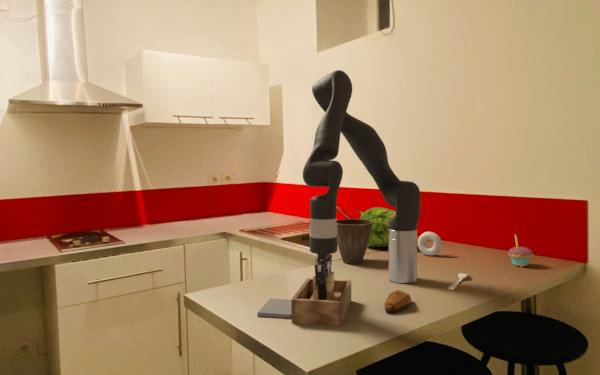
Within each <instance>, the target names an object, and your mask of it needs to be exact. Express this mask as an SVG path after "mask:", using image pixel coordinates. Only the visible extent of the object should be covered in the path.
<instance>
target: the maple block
mask: <svg viewBox="0 0 600 375" xmlns="http://www.w3.org/2000/svg"><path fill="white" fill-rule="evenodd" d="M325 274H326V273H325ZM312 279H313V300H319V299H318V286H317V285H316V284H315V282H316V279H315V273H314V274H313V276H312ZM334 280H335V272H334V271H331V272H329V276H328V277H327V286H326V295H327V298H326V300H329V301H333V299H334ZM320 281H323V278H320Z"/></svg>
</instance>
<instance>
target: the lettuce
mask: <svg viewBox="0 0 600 375" xmlns="http://www.w3.org/2000/svg"><path fill="white" fill-rule="evenodd" d="M395 216H396V211H395V210H393V209H389V208H385V207H381V206H379V207H376V206H375V207H371V208H369V209H367V210H365V211H364V212H363V213H362V214H361V216H360V218H359V219H362V220H369V221H371V222H372V227H371V233H370V238H369V242H368V246H370V247H373V248H389V221H390V220H391V219H393V218H394V217H395Z"/></svg>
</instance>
